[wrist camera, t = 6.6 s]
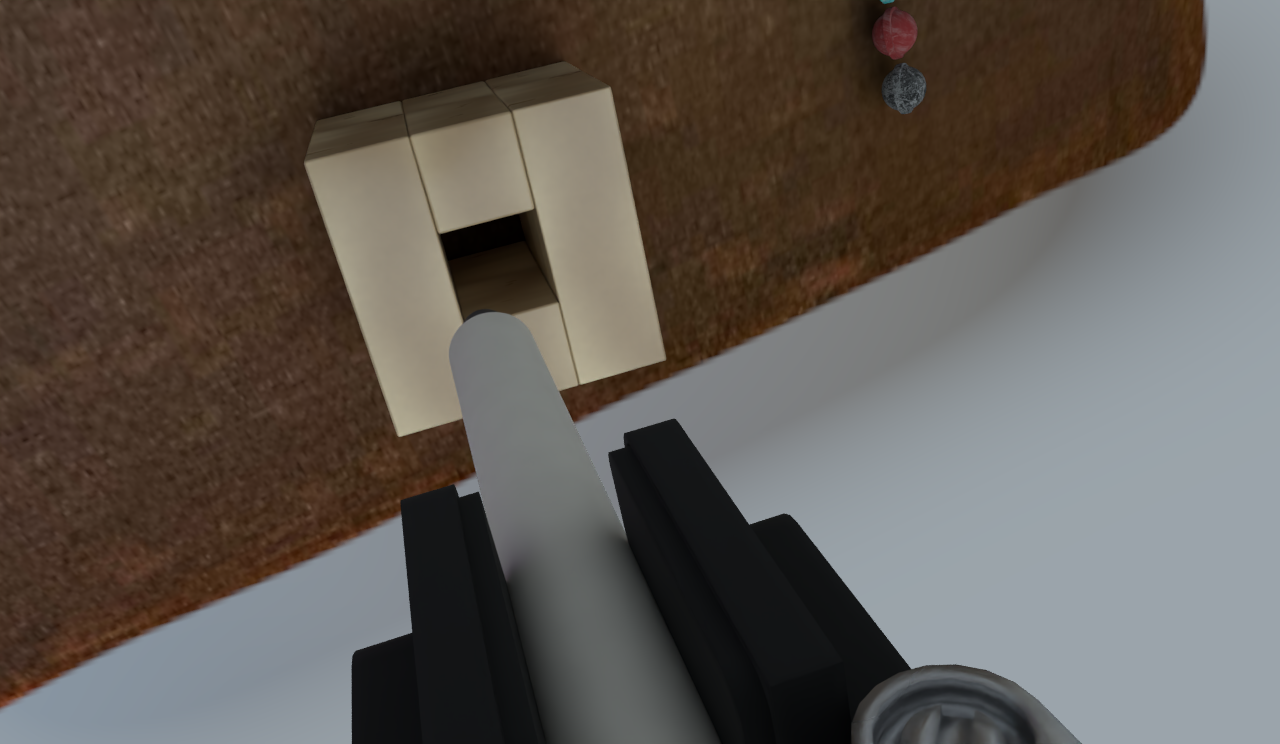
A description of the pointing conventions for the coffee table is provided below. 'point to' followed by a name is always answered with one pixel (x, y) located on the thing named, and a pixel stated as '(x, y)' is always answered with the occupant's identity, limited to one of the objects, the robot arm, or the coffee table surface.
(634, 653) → the white rod
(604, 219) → the pen block
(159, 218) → the coffee table surface
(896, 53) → the beads
